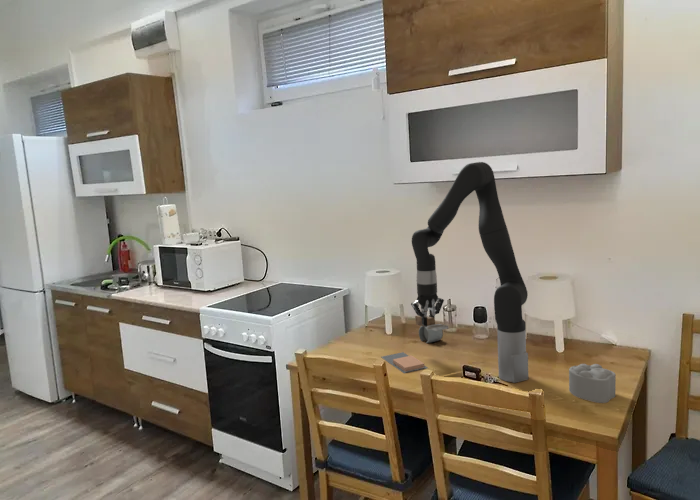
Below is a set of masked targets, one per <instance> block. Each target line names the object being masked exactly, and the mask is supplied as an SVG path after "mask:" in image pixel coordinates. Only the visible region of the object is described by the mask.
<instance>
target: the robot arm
mask: <svg viewBox="0 0 700 500" xmlns="http://www.w3.org/2000/svg"><path fill="white" fill-rule="evenodd" d="M474 191H475V195H476V198H477V199H478V206H479V211H478V212H479V215H478V233H479V238H480V240H481V244H482V248H483V249H484V251H485V253H486V254H487V257H489V258H488V259H490V261H491V262H492V263H493V266H494V267H495V269H496V271H497V275H498V279H499V283H500V286H499V287H497V288H496V289H495V291H494V296H493V305H494V307H493V308H494V310H493V311H494V321H495V323H496V326H497V327H496V328H497V329H496V330H497V365H498V378H499V379H500V380H502V381H505V382H510V383H513V384H515V383H520V382H523V381H528V380H529V353H528V352H527V348H526V347H527V346H526V345H527V335H526V333H527V332H526V331H527V330H526V329H527V328H526V321H525V319H524V318H523V309H522V308H523V306H524V304H526V302H527V300H528V293H529V292H528V290H527V287H526V284H525V281H524V279H523V277H522V274H521V272H520V269H519V267H518V266H519V265H518V264H517V259H516V255H515V252H514V249H513V245H512V244H513V243H512V240H511V237H510V234H509V230H508V226H507V223H506V221H505V218H504V213H503V210H502V207H501V204H500V203H501V202H500V200H499V194H498V189H497V184H496V178H495V174H494V170H493V168H492V167H491V165H490V164H488V163H487V162H485V161H484V162H483V161H478V162H471V163H467V164H465V165H464V166H463V167H462V168H461V169H460V171H459V173H458V174H457V176H456V177H455V179H454V182H453V183H452V184H451V187H450V189H449V190H448V193H447V194H446V196H445V197H444V199H443V200H442V201H441V202H440V204H439V205H438V206H437V208H435V210H434V211H433V212H432V214H431V215H430V216H429V218H428V219H427V225H428V226H427V227H426V228H423V229H418V230H416V231H414V232H413V234H412V236H411V246H412V249H413V253H414V257H415V259H416V293H417V298H416V300H414V302H411V304H410V305H411V307H412V309H413V311H414V313H416V316H420V317H422V325H423V326H425V327H427V316H428V317H433V318H435V317H436V315H437V314H440V312H441V309H442V306H443V304H444V301H445V299H443V298H441V297H439V296H438V279H437V269H436V266H437V265H436V256H435V255H434V254H433V253H430V251H429V248H431V247H434V246H436V244H437V243H438V242H439V241H440V240H441V238H442V236H443V234H444V232H445V230H446V228H447V227H448V226H450V224H451V222H453V220H454V219H455V217H456V216H457V214H458V211H459V209H460V207H461V204H462V203H463V202H464V201H465V199H466V198H467V197H469V195H471V194H472V193H473V192H474ZM419 305H420V306H419ZM428 312H429V313H428ZM428 314H429V315H428ZM435 319H436V318H435Z"/></svg>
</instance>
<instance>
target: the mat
mask: <svg viewBox="0 0 700 500" xmlns="http://www.w3.org/2000/svg"><path fill="white" fill-rule="evenodd" d="M407 356H409V354H407V353H405V352H404V351H402V352H398V353H397V352H396V353H393V354H389V355H387V354H386V355H383V356H380V358H382V359H383V360H384V361H386V362H387V363H388V364H390V365H391V366H393V367H394V368H396V369H397V370H398V371H400V372H401V373H403V374H408V373H412V372H418V371H422V370H426V369H429V367H428V366H426V365H424V366H425V368H421V369H416V370H412V371H407V372H405V371H403V370H402V369H400V368H399V367H397V366H396V365H395V364H393V359H397V358H402V357H407Z"/></svg>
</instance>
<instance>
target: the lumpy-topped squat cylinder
mask: <svg viewBox="0 0 700 500" xmlns="http://www.w3.org/2000/svg"><path fill="white" fill-rule="evenodd" d="M616 378H617V377H616V373H615V372H614V371H612V370H609V369H608V368H603V367H602V365H600V364H598V363H593V364H591V365H590V364H589V365H588V364H586V363H580V364H578V365H572V366H570V367H569V369H568V386H569V387H568V391H569V392H570V394H572V395H573V396H574V397H576V398H579V399H582V400H586V401H589V402H593V403H596V404H597V403H598V404H606V403H608V402H609V401H610V400H612V399H614V398H615V397H616Z"/></svg>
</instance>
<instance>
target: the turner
mask: <svg viewBox="0 0 700 500" xmlns="http://www.w3.org/2000/svg"><path fill="white" fill-rule="evenodd" d="M414 317H415V318H414V319H415V325H417V326H419V327H421V326H423V325H422V317H420V316H418V315H415V316H414ZM435 319H436V318H433V317H429V315H427V329H431V330H435V331H438V330H443V331H444V330H447V329H449V325H447V324H441V323H436V320H435ZM424 327H425V326H424Z"/></svg>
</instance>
